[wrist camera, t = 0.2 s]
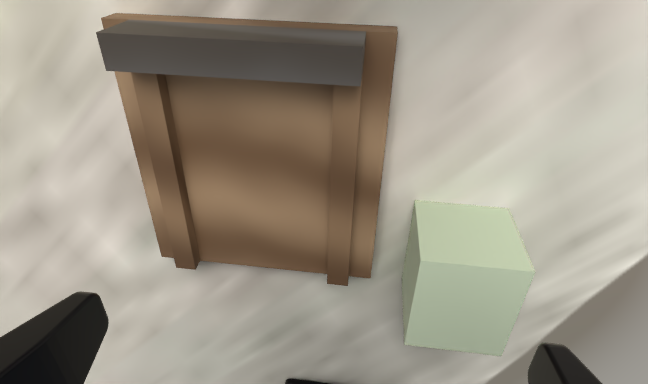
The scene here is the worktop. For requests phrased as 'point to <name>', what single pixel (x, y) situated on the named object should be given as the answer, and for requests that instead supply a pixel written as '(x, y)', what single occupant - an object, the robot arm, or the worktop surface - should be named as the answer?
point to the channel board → (257, 136)
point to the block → (463, 277)
